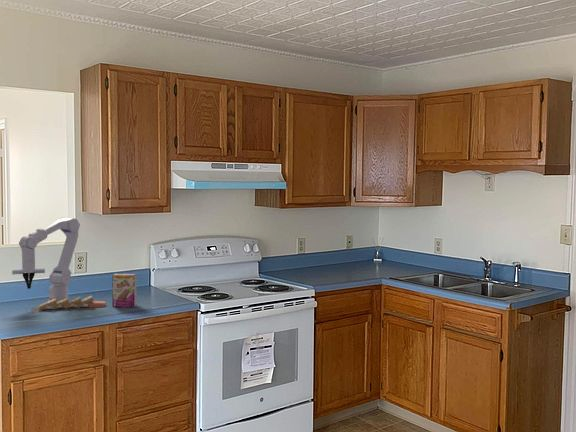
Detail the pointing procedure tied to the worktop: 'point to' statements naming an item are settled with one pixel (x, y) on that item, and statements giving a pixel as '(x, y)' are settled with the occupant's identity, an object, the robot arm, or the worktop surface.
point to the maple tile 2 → (60, 303)
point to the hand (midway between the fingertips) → (29, 288)
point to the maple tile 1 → (47, 304)
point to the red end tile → (97, 304)
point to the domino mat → (60, 309)
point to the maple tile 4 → (85, 301)
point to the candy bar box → (124, 290)
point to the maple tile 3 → (73, 302)
